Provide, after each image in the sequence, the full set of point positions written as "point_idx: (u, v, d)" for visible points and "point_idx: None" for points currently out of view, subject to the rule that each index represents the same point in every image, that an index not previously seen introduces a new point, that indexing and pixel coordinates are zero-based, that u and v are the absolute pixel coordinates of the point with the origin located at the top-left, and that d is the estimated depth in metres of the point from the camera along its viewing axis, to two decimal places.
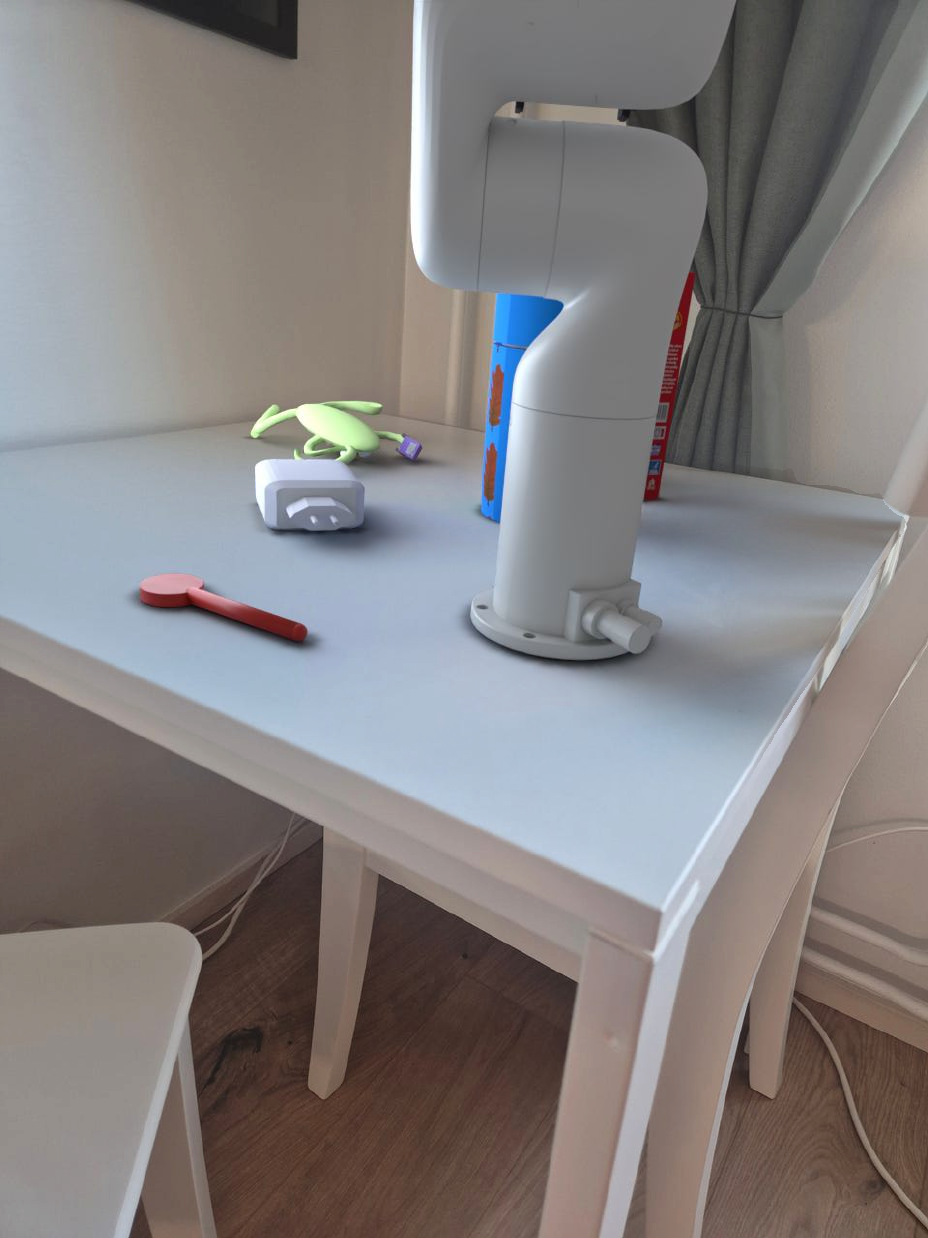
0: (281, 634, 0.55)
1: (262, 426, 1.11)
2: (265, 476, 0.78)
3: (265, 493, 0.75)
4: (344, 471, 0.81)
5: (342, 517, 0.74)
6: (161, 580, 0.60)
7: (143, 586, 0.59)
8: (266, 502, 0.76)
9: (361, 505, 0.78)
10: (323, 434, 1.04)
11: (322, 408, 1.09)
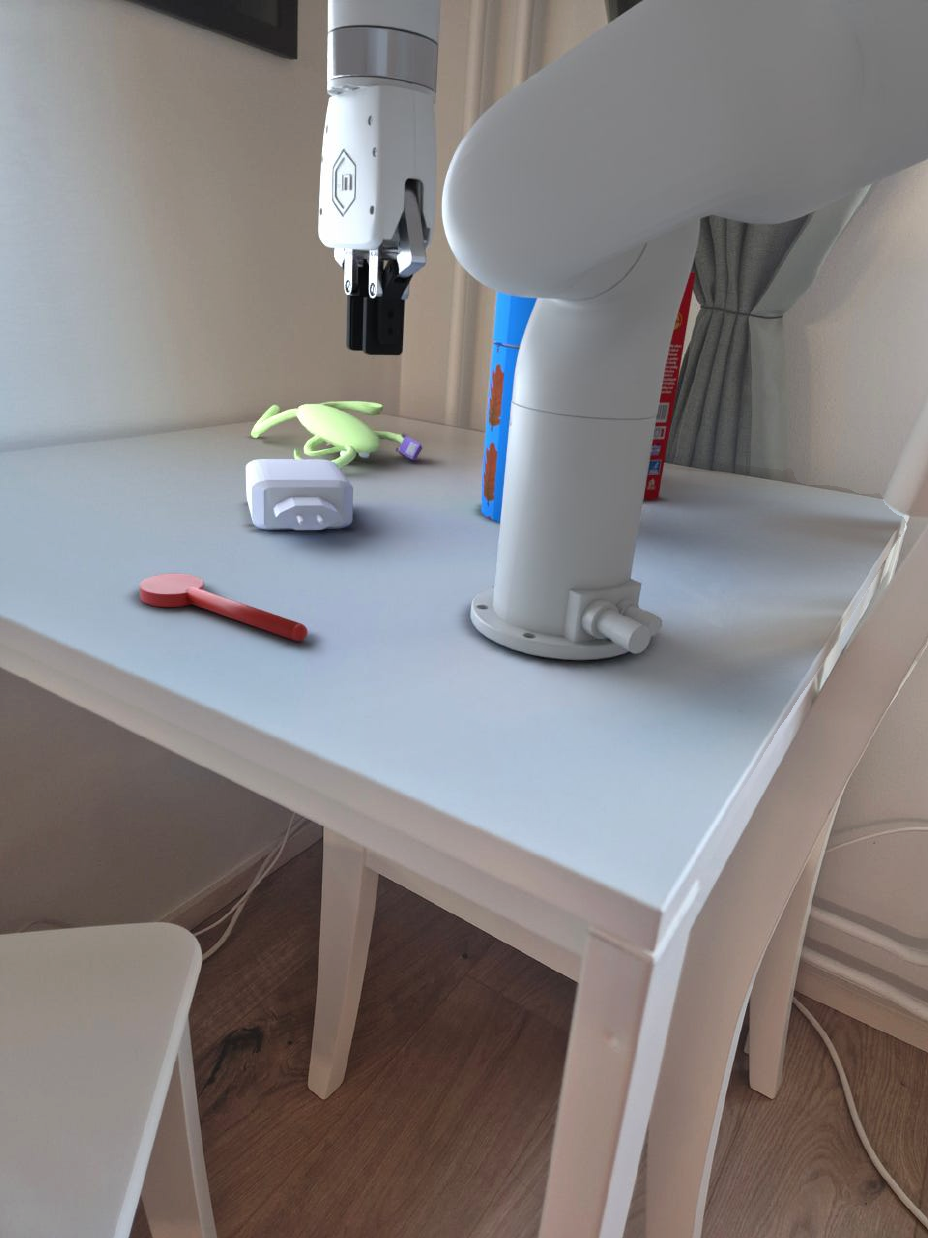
0: (281, 634, 0.55)
1: (262, 426, 1.11)
2: (253, 476, 0.77)
3: (252, 493, 0.75)
4: (333, 471, 0.80)
5: (328, 517, 0.74)
6: (161, 580, 0.60)
7: (143, 586, 0.59)
8: (253, 502, 0.76)
9: (349, 505, 0.78)
10: (323, 434, 1.04)
11: (322, 408, 1.09)
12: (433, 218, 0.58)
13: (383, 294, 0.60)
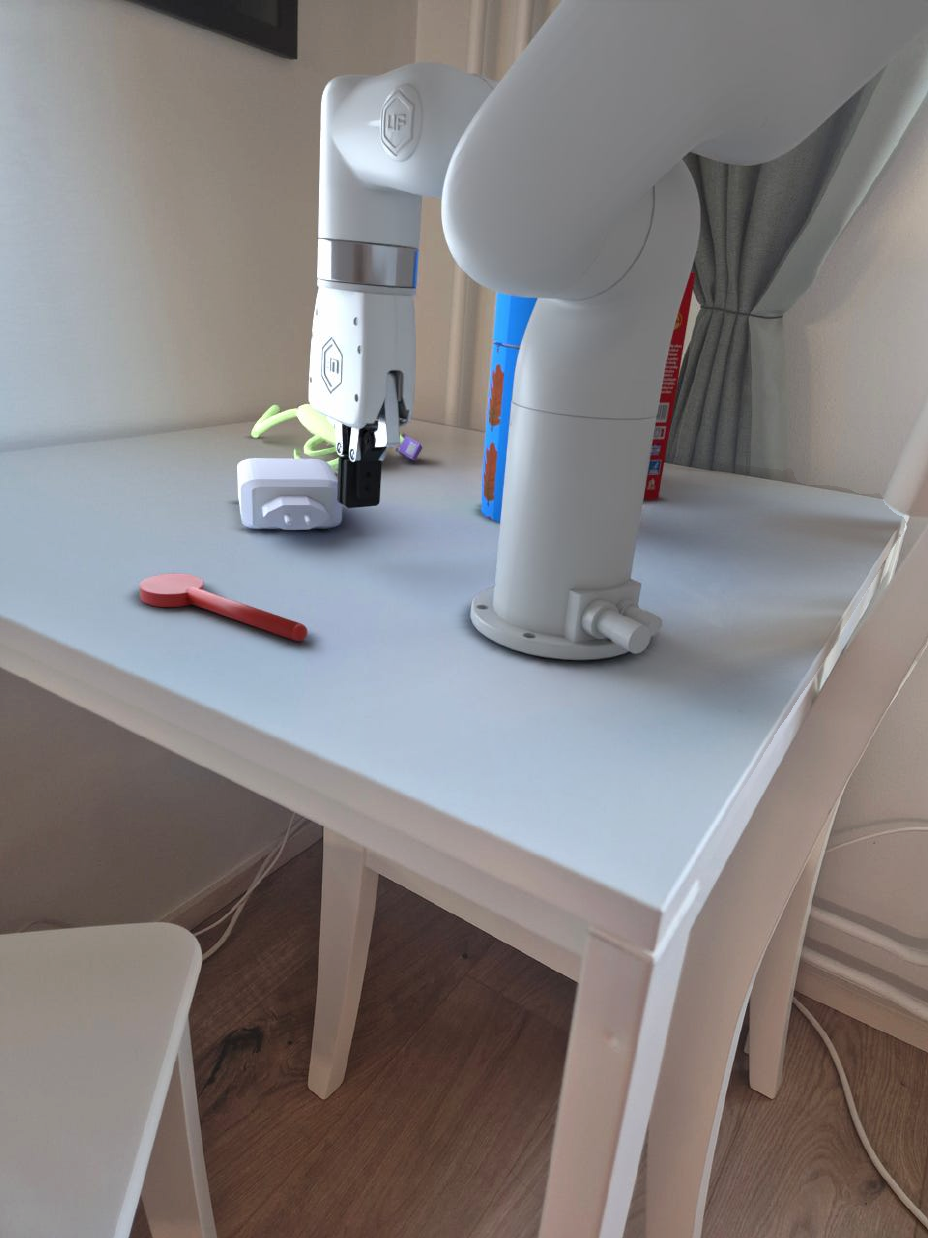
0: (281, 634, 0.55)
1: (262, 426, 1.11)
2: (243, 475, 0.77)
3: (241, 492, 0.75)
4: (324, 470, 0.80)
5: (316, 516, 0.74)
6: (161, 580, 0.60)
7: (143, 586, 0.59)
8: (242, 501, 0.75)
9: (339, 505, 0.78)
10: (323, 434, 1.04)
11: None
12: (412, 401, 0.64)
13: (362, 459, 0.67)
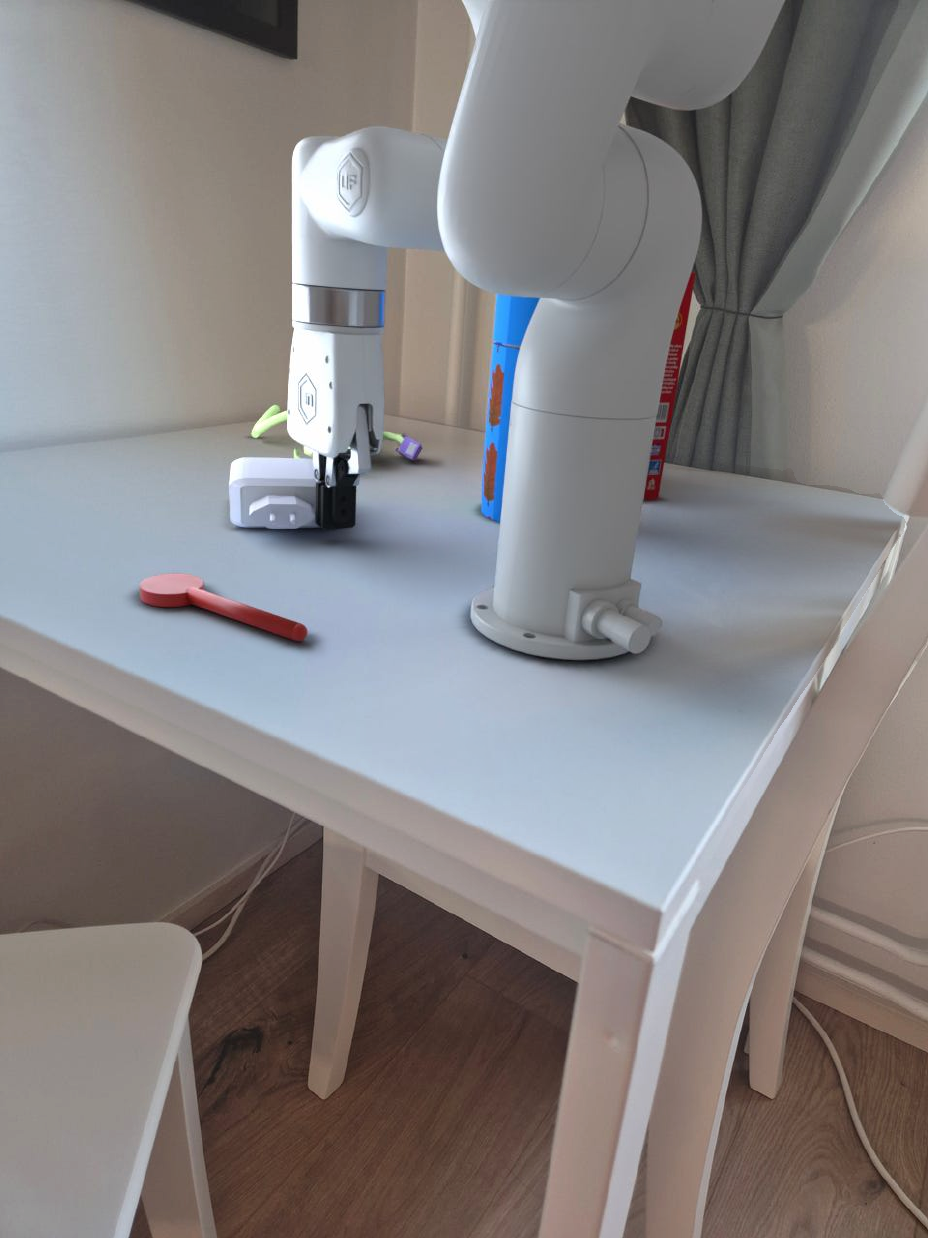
0: (281, 634, 0.55)
1: (262, 426, 1.12)
2: (233, 474, 0.78)
3: (230, 490, 0.75)
4: None
5: (302, 516, 0.74)
6: (161, 580, 0.60)
7: (143, 586, 0.59)
8: (230, 500, 0.76)
9: None
10: None
11: None
12: (382, 431, 0.69)
13: (337, 485, 0.72)
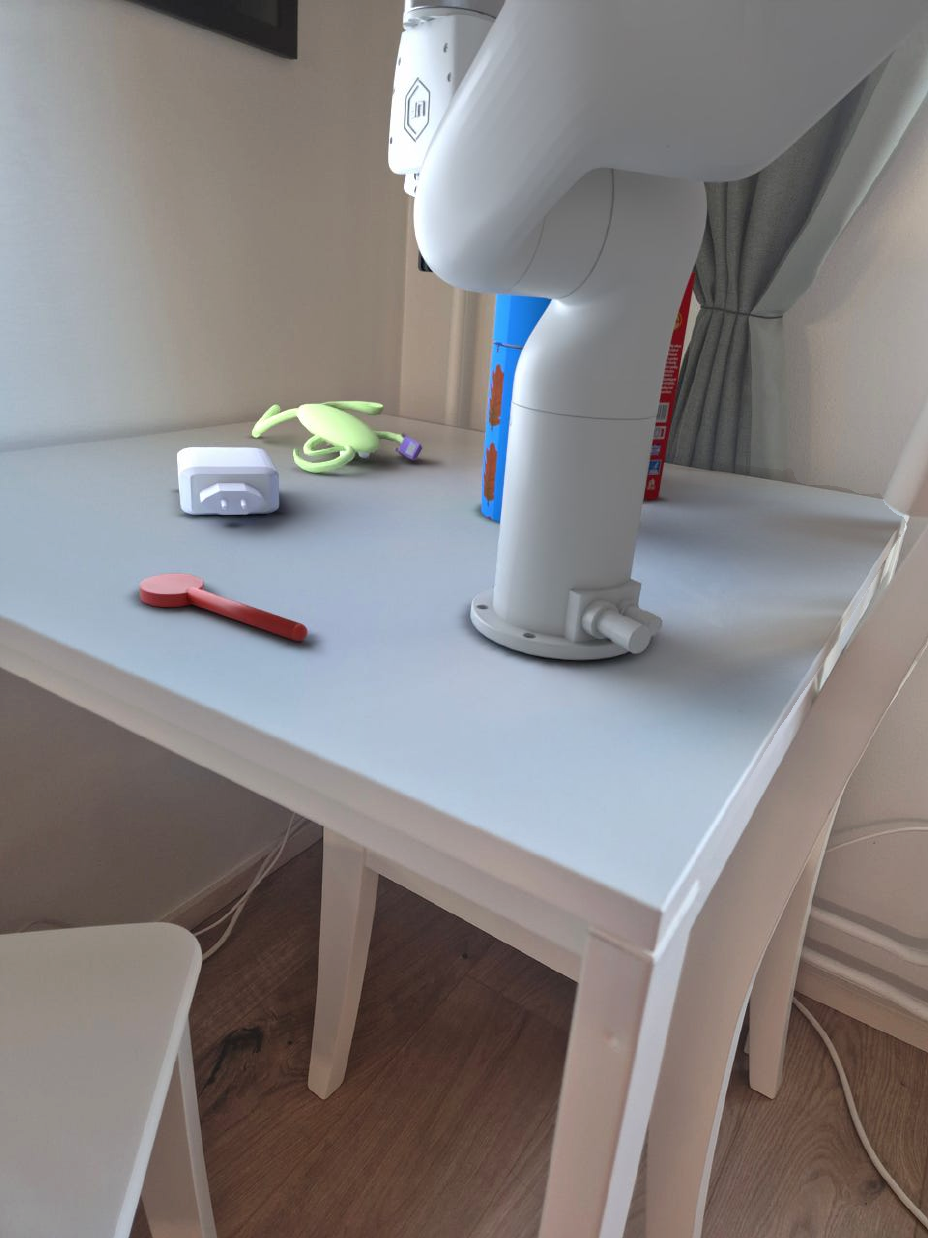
0: (281, 634, 0.55)
1: (263, 426, 1.12)
2: (182, 463, 0.80)
3: (180, 479, 0.78)
4: (261, 458, 0.83)
5: (253, 502, 0.77)
6: (161, 580, 0.60)
7: (143, 586, 0.59)
8: (181, 488, 0.78)
9: (276, 491, 0.81)
10: (323, 434, 1.04)
11: (322, 408, 1.09)
12: None
13: None
